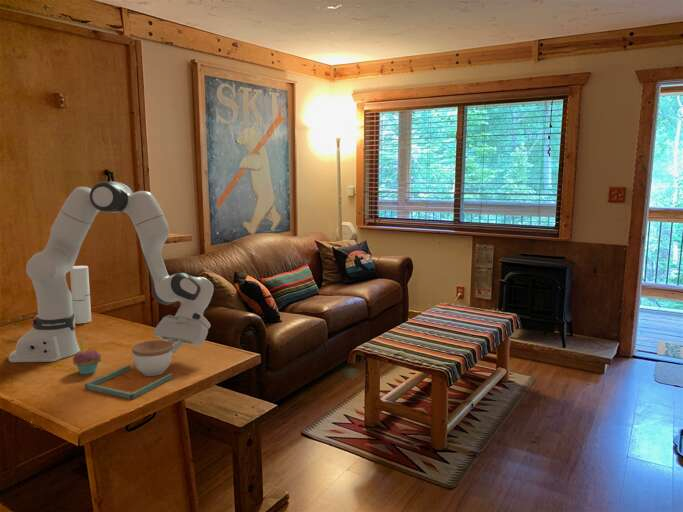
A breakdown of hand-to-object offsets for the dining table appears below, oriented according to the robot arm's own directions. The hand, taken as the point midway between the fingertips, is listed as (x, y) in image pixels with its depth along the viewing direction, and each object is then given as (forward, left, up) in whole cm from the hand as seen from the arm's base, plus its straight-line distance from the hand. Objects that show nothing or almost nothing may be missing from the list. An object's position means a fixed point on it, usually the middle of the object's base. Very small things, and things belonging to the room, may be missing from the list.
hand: (170, 351), depth 181 cm
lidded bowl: (-6, -7, -5) cm, 10 cm away
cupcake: (-27, -1, -5) cm, 27 cm away
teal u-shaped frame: (-12, -15, -4) cm, 19 cm away
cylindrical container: (-38, +61, -5) cm, 72 cm away
